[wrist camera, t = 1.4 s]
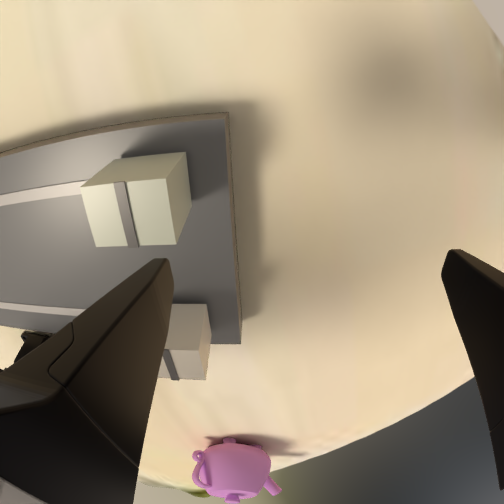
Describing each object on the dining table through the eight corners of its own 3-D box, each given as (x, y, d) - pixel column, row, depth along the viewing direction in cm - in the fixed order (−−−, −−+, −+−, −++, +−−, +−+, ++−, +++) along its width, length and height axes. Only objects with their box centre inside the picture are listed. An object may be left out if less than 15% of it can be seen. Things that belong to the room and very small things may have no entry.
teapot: (212, 425, 36) (207, 489, 28) (299, 447, 41) (303, 501, 33) (179, 445, 41) (173, 498, 33) (259, 465, 46) (259, 512, 38)
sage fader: (192, 206, 17) (176, 246, 13) (124, 210, 17) (95, 248, 13) (185, 150, 15) (164, 178, 12) (114, 158, 15) (78, 187, 12)
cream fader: (211, 335, 22) (205, 381, 19) (159, 333, 22) (146, 378, 19) (206, 303, 21) (198, 351, 17) (148, 302, 21) (132, 348, 17)
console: (241, 320, 25) (240, 345, 23) (-6, 307, 26) (-17, 322, 24) (228, 112, 17) (224, 119, 15) (-60, 175, 17) (-77, 186, 15)
